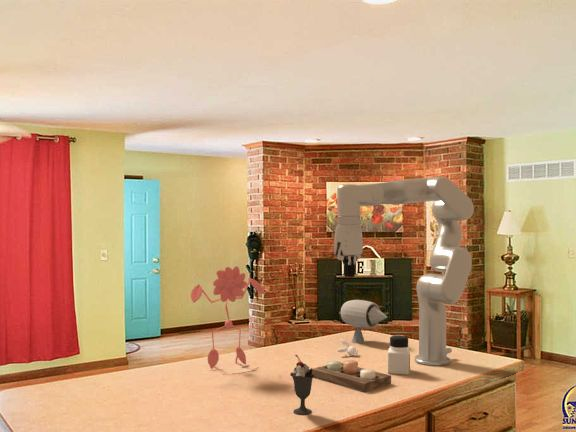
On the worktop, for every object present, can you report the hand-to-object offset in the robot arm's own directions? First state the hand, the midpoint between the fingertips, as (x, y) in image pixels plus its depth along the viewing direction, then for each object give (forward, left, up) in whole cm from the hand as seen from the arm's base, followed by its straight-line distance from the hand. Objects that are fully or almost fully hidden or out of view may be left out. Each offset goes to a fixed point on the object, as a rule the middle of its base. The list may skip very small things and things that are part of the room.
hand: (349, 276), depth 192 cm
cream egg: (+6, +13, -31) cm, 34 cm away
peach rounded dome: (+6, +6, -30) cm, 31 cm away
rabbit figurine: (-18, -17, -32) cm, 41 cm away
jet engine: (-39, -27, -32) cm, 57 cm away
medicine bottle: (-14, +10, -32) cm, 37 cm away
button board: (+6, +6, -32) cm, 33 cm away
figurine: (+26, -31, -32) cm, 52 cm away
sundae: (+38, +17, -32) cm, 53 cm away
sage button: (+6, -1, -31) cm, 32 cm away
